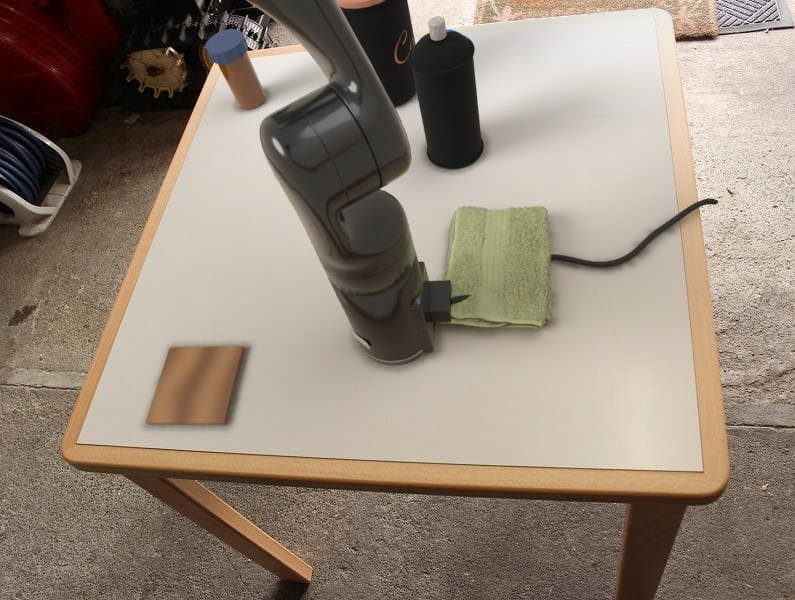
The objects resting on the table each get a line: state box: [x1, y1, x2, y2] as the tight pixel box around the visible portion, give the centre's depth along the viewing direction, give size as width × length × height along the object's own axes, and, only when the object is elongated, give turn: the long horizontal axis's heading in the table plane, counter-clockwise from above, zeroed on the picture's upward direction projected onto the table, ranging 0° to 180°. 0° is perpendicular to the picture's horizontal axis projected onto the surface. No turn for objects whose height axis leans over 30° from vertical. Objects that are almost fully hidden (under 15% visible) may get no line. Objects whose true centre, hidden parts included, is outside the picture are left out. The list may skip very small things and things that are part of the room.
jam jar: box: [217, 51, 267, 111], centre depth 99 cm, size 5×5×11 cm
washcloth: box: [439, 205, 554, 330], centre depth 73 cm, size 13×18×3 cm
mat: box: [145, 345, 246, 426], centre depth 73 cm, size 10×10×1 cm
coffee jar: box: [336, 0, 417, 108], centre depth 91 cm, size 11×11×18 cm
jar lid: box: [205, 28, 249, 65], centre depth 95 cm, size 6×6×2 cm
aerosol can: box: [408, 16, 485, 170], centre depth 79 cm, size 8×8×20 cm
